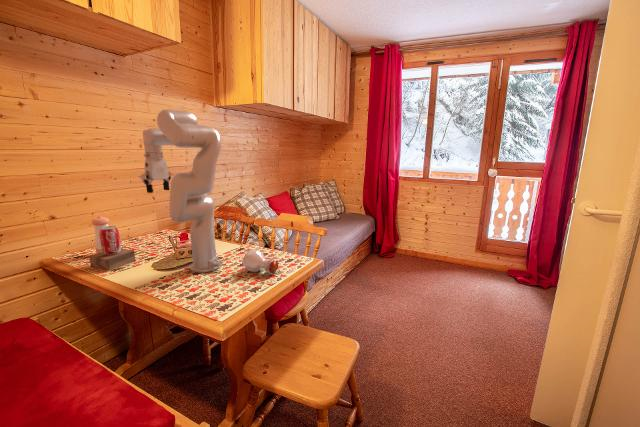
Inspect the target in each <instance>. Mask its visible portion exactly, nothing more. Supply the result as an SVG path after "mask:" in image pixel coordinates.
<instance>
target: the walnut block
mask: <svg viewBox="0 0 640 427" xmlns="http://www.w3.org/2000/svg"><path fill="white" fill-rule="evenodd" d="M88 257H89V262H90V267H91V268H93V269H94V268H95V269H99V270H104V271H109V272H110V271H112V270H115V269H119V268H120V267H125V266H126V265H128V264H132V263H134V262H136V255H135V250H131V249H125V248H121V251H120V252H119V253H118V254H115V255H105V254H103V252H101V253H98V254H97V253H95V254H92V255H89V256H88Z"/></svg>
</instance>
